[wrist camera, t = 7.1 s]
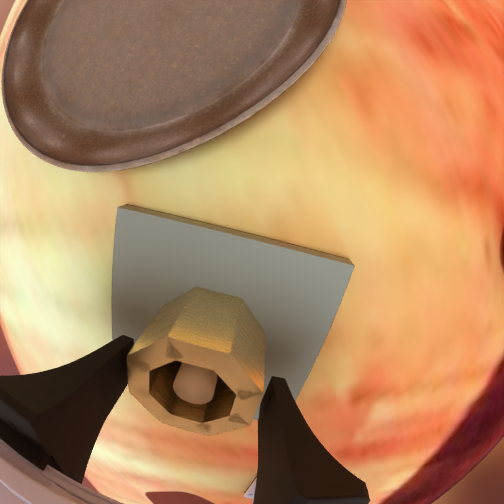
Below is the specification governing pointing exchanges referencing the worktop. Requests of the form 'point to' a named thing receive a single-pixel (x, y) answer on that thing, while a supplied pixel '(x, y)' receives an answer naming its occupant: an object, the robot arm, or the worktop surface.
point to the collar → (201, 361)
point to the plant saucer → (151, 73)
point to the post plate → (226, 289)
